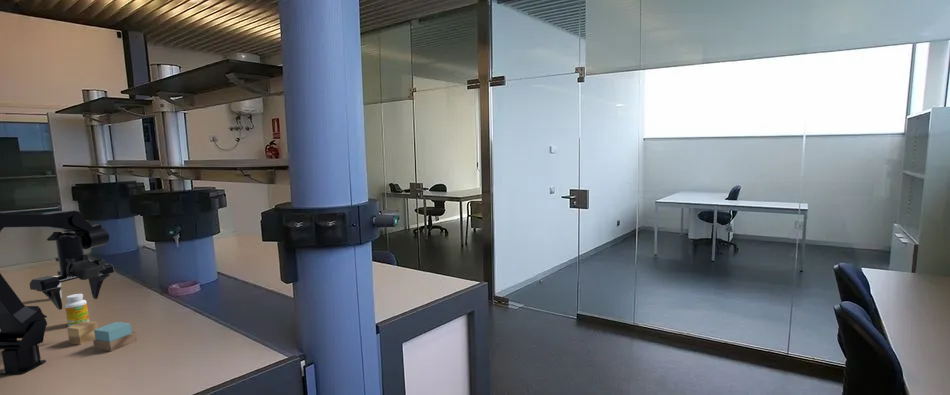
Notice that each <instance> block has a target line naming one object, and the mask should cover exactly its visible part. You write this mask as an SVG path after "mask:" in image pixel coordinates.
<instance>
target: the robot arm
mask: <svg viewBox="0 0 950 395" xmlns="http://www.w3.org/2000/svg"><path fill="white" fill-rule="evenodd" d="M4 228H41V229H43V230H48V231H53V232H52V233H51V234H50V236H48V238H46V241H48V242H49V241H51V242H55V246H56V251H57V252H56V253H57V257H55V262H58V265H59V270H58V271H57V276H58V277H53V276H54V275H53V276H51V275H46V276H44V277H43V276H41V277H37V278H32V279H31V281H30V282H29V289H30V290H32V291H36V292H42V293H43V294H44V295H45V296H46V297H47V298H48V299H49V300H50V301H51V302H52V304H53V305H54V306H55V307H56V308H57V310H59V311H60V310H63V302H62V298H61V297H60V290H61V291H62V286H61V287H57V286H58V285H59V284H60V283H61V284H62V283H65V282H68V281H72V280H76V279H79V280H82V281H85V280H88V283H89V287H90V290H91V295H92V298H93V299H94V300H97V299H98V298H99V295H100V291H101V287H102V284H103V282H104V280H106V279H107V278H108V277H110V276H111V274H113V273H115V266H114V265H113V264H112V263H106V260H105V259H104V258H102V257H101V258H97V259H94V260H92V261H91V260H90V259H89V256H88V254H85V252H84V250H88V249H92V248H97V247H101V246H105V245H107V243H108V242H109V240H110V235H109V233H108V232H107V230H106V229H105V228H103V227H102V224H91V223H90V222H89V221H87V220H86V218H85V217H83V215H82V213H81V211H79V210H61V211H60V210H59V211H58V210H57V211H50V212H43V213H4V212H0V233H1V231H2V230H4ZM46 318H48V315H45V314H44V313H43V311H42V309H41V307H40V306H38V305H25V304H24V303H23V301H22V300H21V299H20V297H19V296H18V295H17V293H16V292H15V291H14V290H13V288H12V287H11V285H10V284H9V282H7V280H6V279H5V277H4V276H3V274H2V273H1V272H0V351H1V357H2V362H3V368H4V370H1V371H0V375H17V374H25V373H27V372H29V371H31V370H33V369H35V368H38V367H39V366H40V365H43V364H44V363H46V362H47V359H41V353H40V346H39V345H40V344H42V343H43V341H44V339H45V332H46V328H47V326H48V322H47V320H46Z"/></svg>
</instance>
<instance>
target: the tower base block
mask: <svg viewBox="0 0 950 395" xmlns="http://www.w3.org/2000/svg"><path fill="white" fill-rule="evenodd" d="M136 333H137V332H135V331H134V332H133V331H132V333H131V334H129V335H126V336H124V337H121V338H119V339H116V340H114V341H111V342H107V341H99V340H92V341H93V348H94V350H98V351H105V352H115V351H116V350H119V349H121V348H123V347H125V346H129V345H130V344H133V343H136V342H137V341H138V340H137V334H136Z"/></svg>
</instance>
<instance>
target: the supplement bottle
mask: <svg viewBox="0 0 950 395" xmlns="http://www.w3.org/2000/svg"><path fill="white" fill-rule="evenodd" d="M83 298H84V294H83V293H74V294H70V295H67V296H66V301H67V303H65V305H64V307H65V313H66V319H67V320H66V321H67V325H68V326H67V327H70V326H73V325H76V324H79V323H81V322H84V321H90V314H89V309H88V303H87V302H88V301H87V300H86V299H83Z"/></svg>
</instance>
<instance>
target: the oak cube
mask: <svg viewBox="0 0 950 395" xmlns="http://www.w3.org/2000/svg"><path fill="white" fill-rule="evenodd" d="M98 328H99V325H98V322H97V321H90V320H89V321H84V322H81V323H79V324H76V325H73V326H67V327H66V332H67V335H68V342H69V344H73V345H80V346H81V345H85V344H86V343H89V342H92V341H93V340H95V333H94V330H95V329H98Z"/></svg>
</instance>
